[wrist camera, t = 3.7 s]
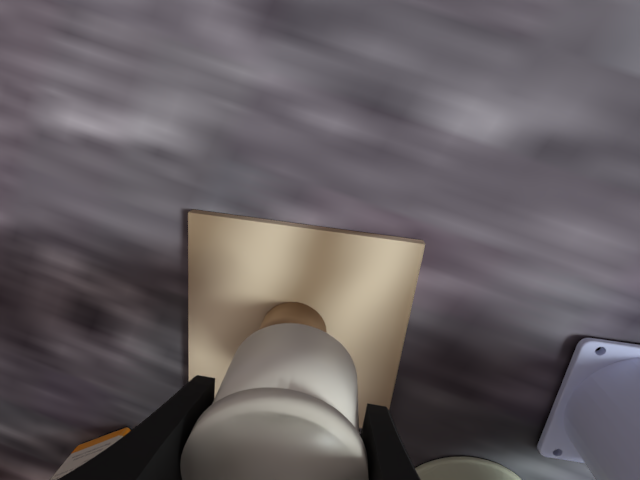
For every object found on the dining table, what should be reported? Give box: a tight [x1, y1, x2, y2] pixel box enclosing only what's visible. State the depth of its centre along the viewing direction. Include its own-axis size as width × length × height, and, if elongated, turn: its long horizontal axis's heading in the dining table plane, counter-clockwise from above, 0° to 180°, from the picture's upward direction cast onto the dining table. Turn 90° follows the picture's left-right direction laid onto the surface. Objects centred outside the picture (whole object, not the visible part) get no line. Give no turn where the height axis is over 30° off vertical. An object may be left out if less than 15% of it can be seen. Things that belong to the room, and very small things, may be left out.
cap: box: [180, 323, 369, 480], centre depth 12 cm, size 5×5×4 cm
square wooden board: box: [188, 209, 425, 428], centre depth 20 cm, size 12×12×4 cm
